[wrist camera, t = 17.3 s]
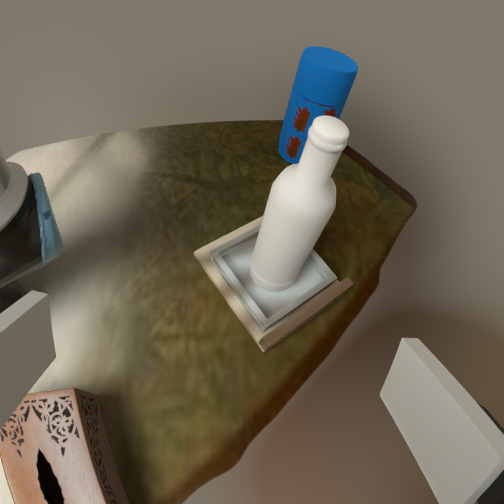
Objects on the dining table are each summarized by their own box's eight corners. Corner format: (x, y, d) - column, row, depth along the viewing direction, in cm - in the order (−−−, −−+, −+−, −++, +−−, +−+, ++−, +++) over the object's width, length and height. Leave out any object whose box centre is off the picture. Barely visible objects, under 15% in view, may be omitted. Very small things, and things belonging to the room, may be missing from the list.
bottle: (239, 260, 54) (274, 107, 28) (279, 243, 56) (336, 97, 31) (264, 301, 51) (326, 163, 25) (304, 281, 53) (387, 146, 28)
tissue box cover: (148, 546, 30) (136, 571, 21) (67, 548, 26) (42, 567, 17) (97, 395, 41) (73, 387, 32) (22, 404, 37) (-11, 396, 29)
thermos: (330, 166, 71) (369, 75, 49) (287, 170, 68) (319, 70, 46) (311, 135, 75) (341, 48, 54) (270, 137, 73) (293, 44, 51)
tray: (193, 254, 55) (193, 242, 51) (276, 211, 62) (280, 198, 58) (263, 352, 48) (268, 346, 45) (344, 293, 55) (353, 283, 52)
